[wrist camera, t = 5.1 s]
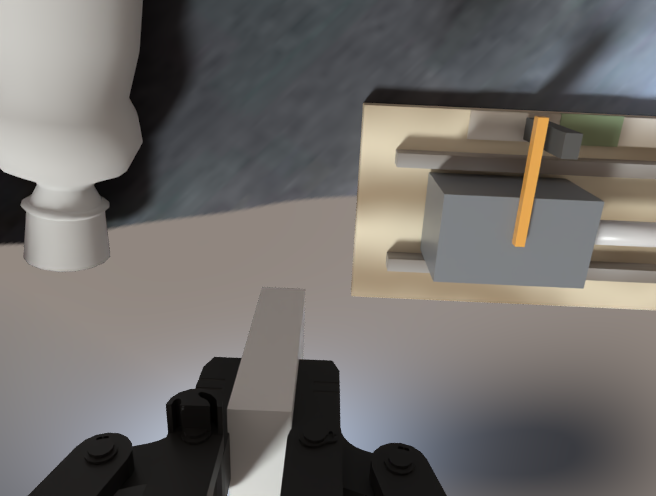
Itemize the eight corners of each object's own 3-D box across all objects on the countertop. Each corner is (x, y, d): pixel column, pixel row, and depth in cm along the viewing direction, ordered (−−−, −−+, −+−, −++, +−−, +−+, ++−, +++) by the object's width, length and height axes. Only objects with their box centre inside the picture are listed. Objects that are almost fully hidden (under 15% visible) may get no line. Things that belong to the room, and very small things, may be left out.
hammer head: (526, 117, 29) (566, 132, 24) (541, 117, 29) (583, 133, 24) (522, 139, 30) (560, 158, 25) (537, 139, 30) (577, 159, 25)
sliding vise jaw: (436, 101, 29) (457, 113, 24) (724, 114, 29) (803, 129, 24) (420, 248, 33) (435, 286, 28) (679, 260, 33) (741, 300, 28)
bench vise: (363, 101, 31) (373, 124, 22) (875, 125, 31) (1081, 157, 22) (351, 288, 35) (355, 367, 27) (800, 308, 35) (948, 394, 27)
